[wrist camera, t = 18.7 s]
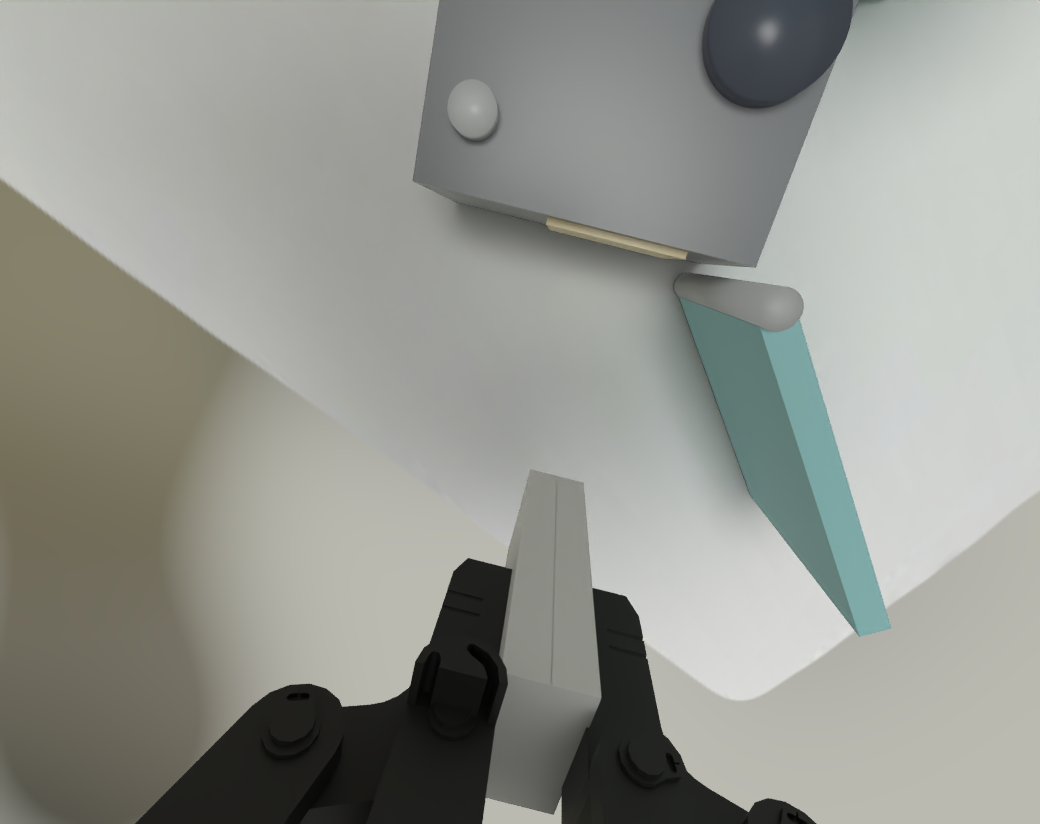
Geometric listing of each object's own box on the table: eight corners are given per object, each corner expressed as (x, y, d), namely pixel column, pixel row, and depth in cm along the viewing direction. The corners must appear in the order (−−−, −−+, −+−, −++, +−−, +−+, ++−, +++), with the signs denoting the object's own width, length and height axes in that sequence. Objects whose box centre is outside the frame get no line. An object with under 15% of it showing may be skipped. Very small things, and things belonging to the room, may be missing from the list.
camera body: (497, -31, 23) (458, -197, 15) (778, 39, 23) (905, -87, 14) (454, 207, 27) (403, 185, 18) (698, 269, 27) (762, 276, 18)
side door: (670, 279, 27) (751, 298, 15) (697, 267, 26) (801, 276, 15) (749, 496, 30) (862, 645, 19) (773, 488, 30) (904, 634, 18)
